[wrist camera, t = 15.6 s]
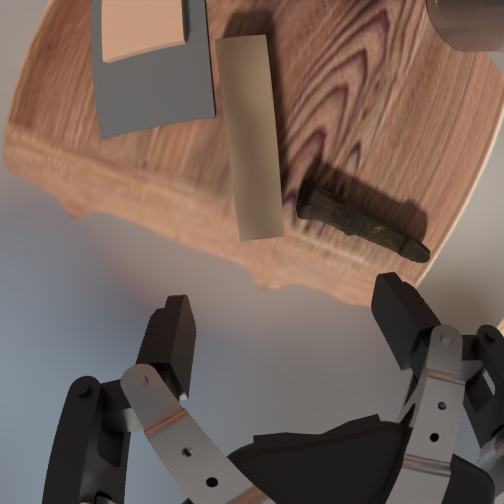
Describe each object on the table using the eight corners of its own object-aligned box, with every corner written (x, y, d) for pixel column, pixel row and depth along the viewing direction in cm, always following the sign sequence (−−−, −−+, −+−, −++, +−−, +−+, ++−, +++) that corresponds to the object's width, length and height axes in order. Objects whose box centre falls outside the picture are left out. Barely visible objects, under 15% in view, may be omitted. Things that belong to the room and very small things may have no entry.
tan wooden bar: (260, 47, 21) (265, 34, 17) (276, 216, 30) (283, 236, 26) (218, 51, 21) (214, 39, 17) (239, 220, 30) (240, 241, 26)
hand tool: (289, 206, 30) (298, 223, 26) (306, 173, 28) (319, 185, 24) (406, 262, 34) (423, 281, 30) (421, 238, 33) (440, 255, 29)
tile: (186, 43, 20) (182, -32, 15) (183, 40, 19) (179, -39, 14) (109, 63, 20) (108, -12, 15) (102, 61, 19) (102, -16, 14)
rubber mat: (200, -57, 14) (200, -59, 13) (215, 116, 24) (215, 116, 24) (95, -28, 14) (94, -29, 13) (102, 139, 24) (101, 139, 24)
